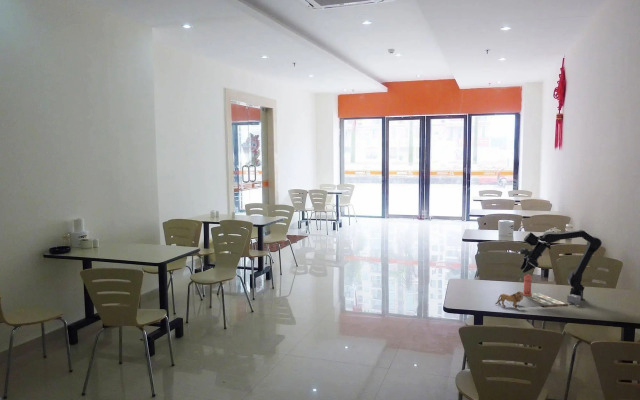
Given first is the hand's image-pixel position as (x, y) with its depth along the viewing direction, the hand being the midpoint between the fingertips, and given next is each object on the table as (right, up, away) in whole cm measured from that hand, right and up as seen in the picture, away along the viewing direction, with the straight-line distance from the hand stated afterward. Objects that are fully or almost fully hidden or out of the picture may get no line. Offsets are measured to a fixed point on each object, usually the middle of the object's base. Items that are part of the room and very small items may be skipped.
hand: (522, 270), depth 293 cm
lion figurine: (-17, -17, -23) cm, 33 cm away
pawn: (+1, -14, -5) cm, 15 cm away
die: (+22, -17, -18) cm, 33 cm away
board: (+6, -16, -12) cm, 21 cm away
